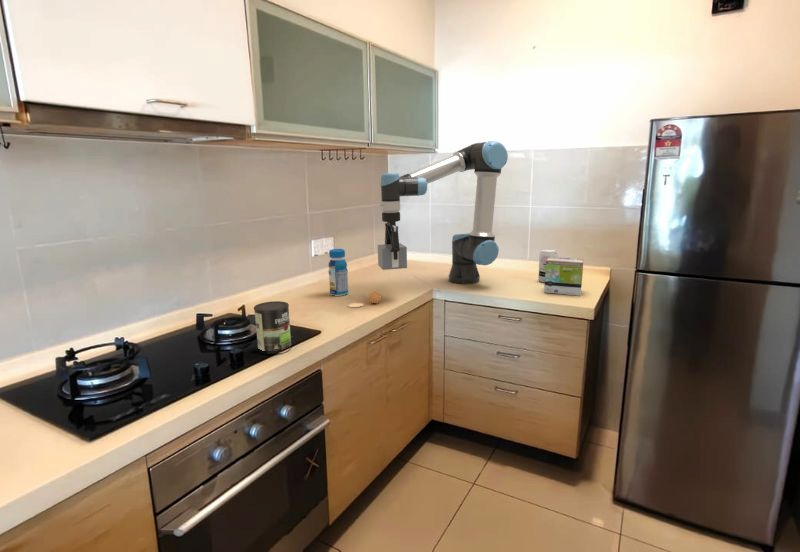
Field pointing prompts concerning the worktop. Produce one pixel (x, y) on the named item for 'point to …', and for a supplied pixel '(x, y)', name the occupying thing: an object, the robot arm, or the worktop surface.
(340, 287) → the beverage bottle
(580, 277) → the tea box
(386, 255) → the gray rectangular box
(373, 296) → the ball
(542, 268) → the white carton
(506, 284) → the worktop surface
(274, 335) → the coffee can
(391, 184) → the robot arm
